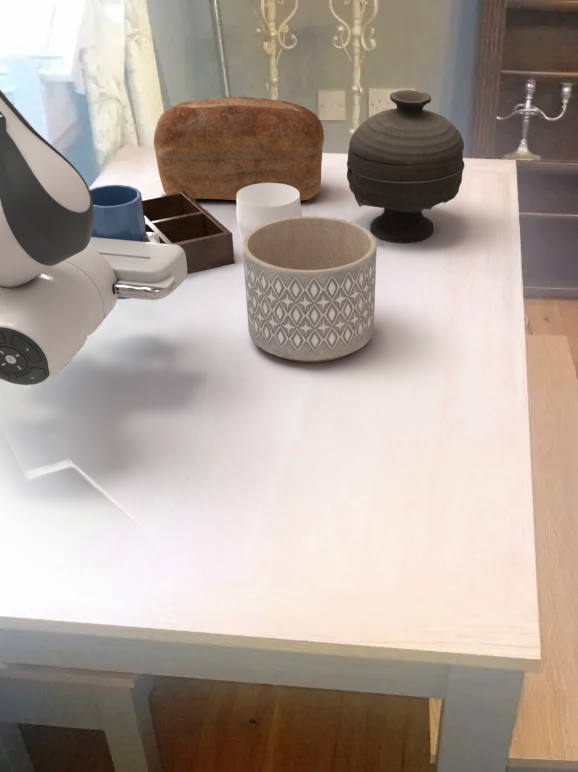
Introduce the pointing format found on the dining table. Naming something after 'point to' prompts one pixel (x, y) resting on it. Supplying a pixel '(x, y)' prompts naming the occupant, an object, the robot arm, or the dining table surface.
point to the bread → (238, 147)
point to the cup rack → (189, 230)
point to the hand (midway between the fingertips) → (120, 235)
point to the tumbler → (118, 213)
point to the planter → (310, 287)
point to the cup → (265, 205)
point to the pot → (405, 166)
